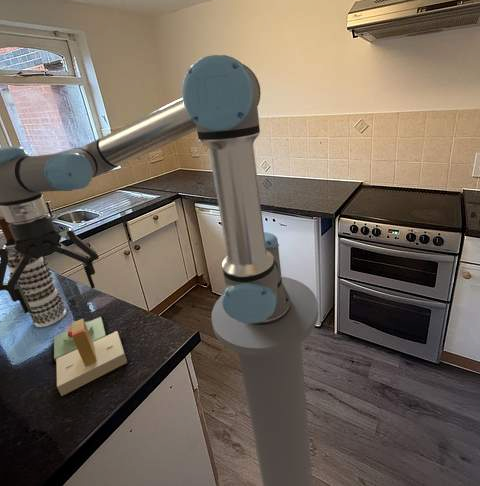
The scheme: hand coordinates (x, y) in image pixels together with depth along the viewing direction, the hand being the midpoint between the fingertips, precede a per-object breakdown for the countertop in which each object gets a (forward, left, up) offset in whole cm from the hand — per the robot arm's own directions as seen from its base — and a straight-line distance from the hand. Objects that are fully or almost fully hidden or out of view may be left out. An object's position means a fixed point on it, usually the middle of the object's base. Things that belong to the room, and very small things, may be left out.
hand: (61, 297), depth 74 cm
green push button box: (0, -5, -17) cm, 18 cm away
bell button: (0, -5, -15) cm, 16 cm away
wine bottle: (+11, -42, -17) cm, 47 cm away
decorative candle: (+7, -23, -17) cm, 30 cm away
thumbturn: (-2, +8, -14) cm, 16 cm away
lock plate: (-2, +8, -17) cm, 19 cm away
